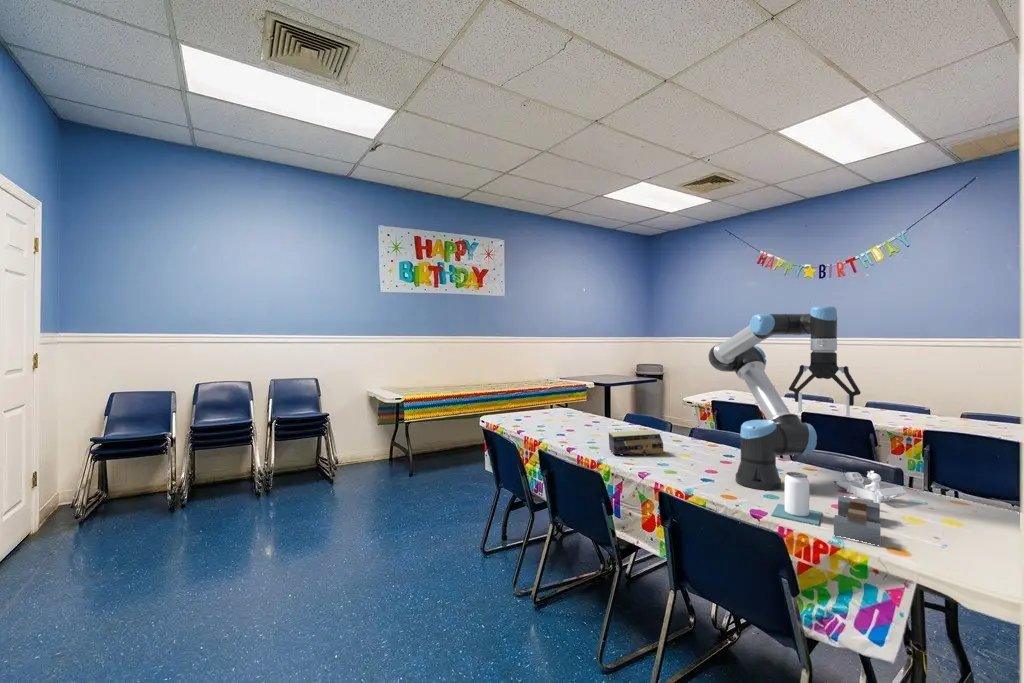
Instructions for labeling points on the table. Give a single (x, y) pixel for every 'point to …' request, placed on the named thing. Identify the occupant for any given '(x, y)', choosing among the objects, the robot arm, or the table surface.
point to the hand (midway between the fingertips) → (823, 413)
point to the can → (797, 494)
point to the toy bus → (635, 442)
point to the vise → (858, 519)
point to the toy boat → (870, 487)
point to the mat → (811, 518)
